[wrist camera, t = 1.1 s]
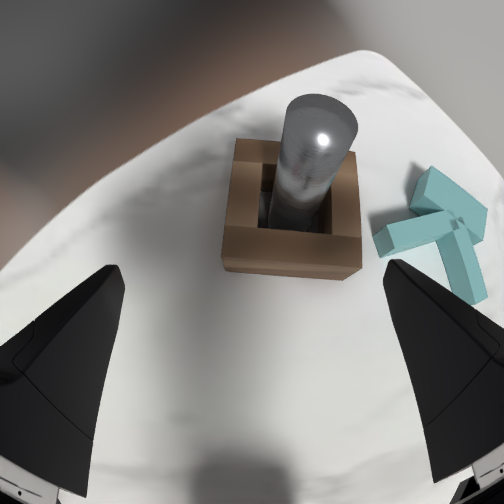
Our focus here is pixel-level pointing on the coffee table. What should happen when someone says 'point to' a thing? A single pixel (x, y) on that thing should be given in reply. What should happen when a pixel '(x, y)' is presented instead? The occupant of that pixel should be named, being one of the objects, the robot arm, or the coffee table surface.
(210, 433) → the coffee table surface
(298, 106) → the axle
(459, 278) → the teal y-shaped block
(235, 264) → the brown square frame
